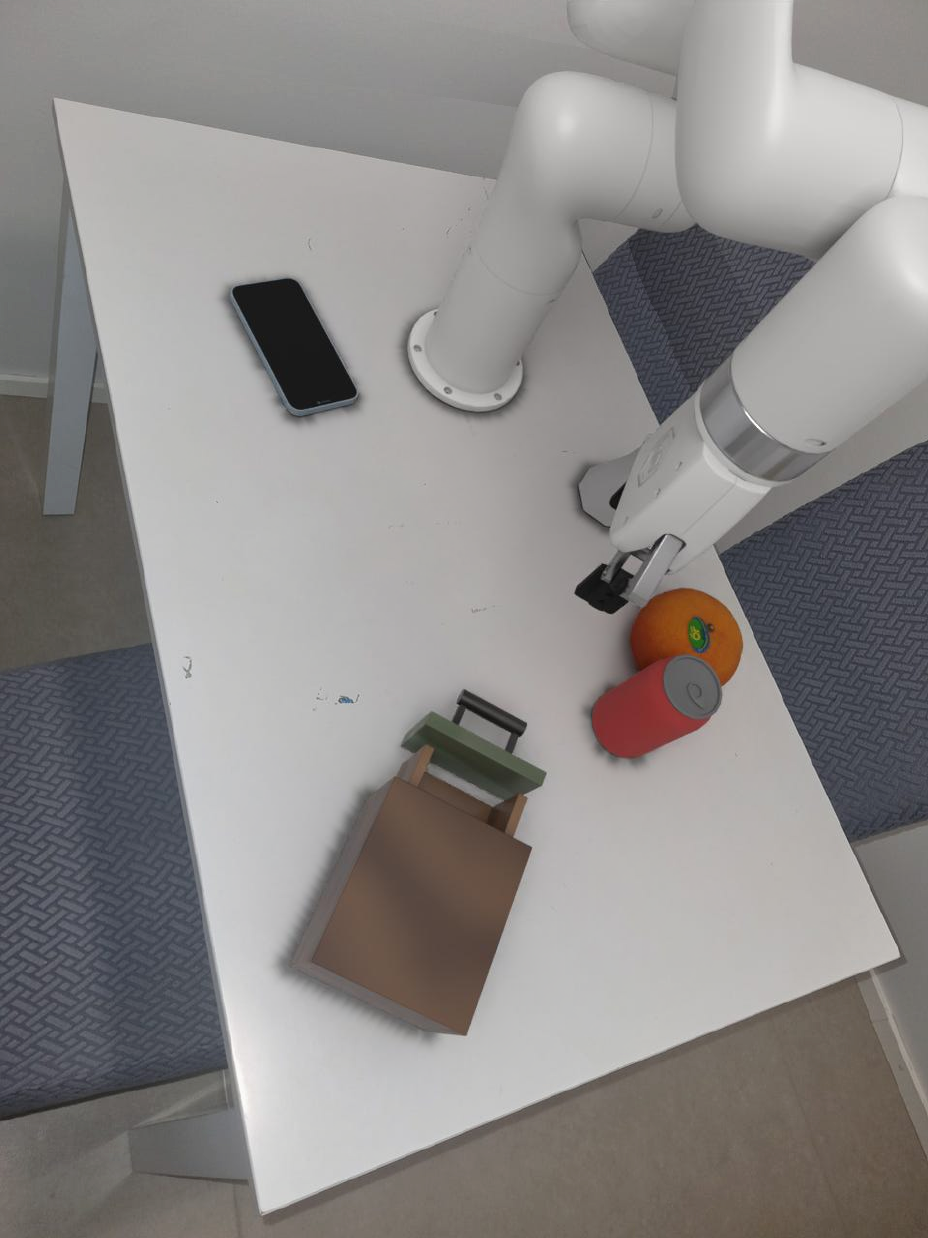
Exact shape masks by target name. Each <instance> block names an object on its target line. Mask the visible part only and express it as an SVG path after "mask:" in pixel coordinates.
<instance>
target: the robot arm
mask: <svg viewBox="0 0 928 1238" xmlns="http://www.w3.org/2000/svg"><path fill="white" fill-rule="evenodd" d="M794 3H795V1H794V0H566V19H567V23H568V27H569V29H570V31H571V33H572V34H573V36H574V37H575V38H576V39H577V40H578V41H579V42H581V43H582V44H583V45H585V46H587V47H588V48H590V49H592V50H594V51H596V52H599V53H601V54H603V55H606V56H609V57H612V58H615V59H617V60H621V61H624V62H627V63H630V64H633V65H637V66H640V67H643V68H646V69H649V70H653V71H657V72H660V73H664V74H667V75H670V76H673V77H675V82H674V87H673V93H672V96H671V97H670V96H668V95H664V94H660V93H658V92H657V93H656V92H653V91H649V90H646V89H644V88H642V87H639V86H636V85H632V84H628V83H626V82H622V81H618V80H614V79H611V78H608V77H604V76H600V75H598V74H592V73H587V72H585V71H583V72H582V71H573V70H563V71H556V72H550V73H548V74H545V75H543V76H541V77H539V78H538V79H537V80H535V81H534V82H533V83H532V84H531V85H530V86H529V87H528V88H527V89H526V91H525V92H524V94H523V95H522V97H521V99H520V102H519V104H518V107H517V108H516V112H515V115H514V119H513V121H512V126H511V129H510V134H509V137H508V141H507V144H506V149H505V152H504V156H503V160H502V163H501V166H500V169H499V172H498V175H497V179H496V181H495V182H494V183H495V184H494V186H493V188H492V192H491V194H490V195H489V198H488V201H487V202H486V205H485V208H484V210H483V212H482V214H481V217H480V218H479V220H478V223H477V225H476V227H475V230H474V232H473V234H472V236H471V239H470V240H469V243H468V245H467V246H466V249H465V251H464V254H463V256H462V257H461V260H460V262H459V264H458V266H457V268H456V270H455V273H454V274H453V277H452V279H451V281H450V283H449V285H448V287H447V290H446V291H445V294H444V296H443V298H442V299H441V302H440V305H439V307H438V308H434V309H432V310H429V311H427V312H426V313H424V314H423V315H421V316H420V317H418V319H417V320H416V321H415V323H414V324H413V326H412V329H411V331H410V333H409V336H408V340H407V347H406V349H407V350H406V351H407V357H408V362H409V364H410V367H411V369H412V371H413V373H414V375H415V376H416V378H417V379H418V381H419V382H420V383H421V384H422V386H423V387H424V388H425V389H426V390H428V392H429V393H430V394H432V395H433V396H434V397H435V398H436V399H438V400H440V401H442V402H443V403H445V404H447V405H450V406H451V407H453V408H457V409H459V410H463V411H468V412H476V413H481V412H490V411H494V410H497V409H499V408H502V407H503V406H505V405H507V404H508V403H509V402H510V401H511V400H513V398H514V396H515V395H516V394H517V392H518V390H519V388H520V387H521V384H522V381H523V375H524V367H523V361H522V357H523V355H524V353H525V352H526V350H527V349H528V347H529V345H530V343H531V342H532V340H533V339H534V337H535V336H536V334H537V332H538V331H539V329H540V328H541V327H542V325H543V323H544V322H545V319H546V318H547V317H548V315H549V314H550V312H551V310H552V309H553V308H554V305H555V304H556V302H557V301H558V299H559V298H560V296H561V294H562V293H563V291H564V290H565V288H566V286H567V285H568V283H569V282H570V280H571V279H572V277H573V275H574V274H575V272H576V270H577V268H578V266H579V263H580V260H581V256H582V252H583V238H582V231H581V227H580V222H579V220H583V219H590V220H597V221H600V222H610V223H615V224H619V225H623V226H627V227H631V228H632V227H633V228H636V229H642V230H646V231H652V232H656V233H663V234H675V233H676V234H677V233H680V232H684V231H687V230H689V229H690V228H692V227H693V226H695V225H696V224H697V225H698V226H699V227H700V228H701V229H703V230H704V231H705V232H708V233H710V234H712V235H714V236H716V237H720V238H724V239H726V240H730V241H734V242H738V243H741V244H746V245H751V246H754V247H755V246H756V247H761V248H765V249H769V250H775V251H778V252H779V251H780V252H784V253H788V254H793V255H797V256H801V257H803V258H805V259H807V260H809V261H811V262H812V263H814V265H813V266H812V267H811V268H810V269H809V270H808V271H807V272H806V273H805V274H804V276H802V277H801V278H800V279H799V281H798V282H797V283H796V284H795V285H794V286H793V287H792V288H791V289H790V290H788V292H787V293H786V294H785V295H784V296H783V298H781V299H780V300H779V302H777V303H776V304H775V306H774V307H772V309H771V310H770V311H769V312H768V313H767V314H766V315H765V316H764V317H763V318H762V319H761V320H760V322H758V323H757V325H756V326H755V327H753V329H752V330H751V331H750V332H749V333H748V334H747V335H746V336H745V337H744V338H743V339H742V340H741V341H740V342H739V344H738V345H737V346H736V347H735V348H734V349H733V350H732V351H731V352H730V353H729V354H728V356H726V358H724V359H723V360H722V362H721V363H720V364H719V365H718V366H717V367H716V368H715V369H714V370H713V371H712V372H711V373H710V374H709V375H708V376H707V377H706V379H704V381H702V382H701V384H700V385H699V387H698V388H697V390H696V391H695V392H694V393H692V395H691V396H689V398H687V399H686V400H685V402H683V403H682V404H681V405H680V406H679V407H678V408H677V409H676V410H674V412H672V413H671V414H670V415H669V416H668V417H667V418H666V419H665V420H664V421H663V422H662V423H661V424H660V425H659V426H658V427H657V428H656V429H655V430H654V431H653V432H651V433H652V434H651V435H650V436H649V437H648V438H647V439H646V441H645V442H644V441H643V442H644V444H643V443H642V444H643V445H642V444H641V445H642V447H641V449H640V451H639V453H638V455H637V457H636V460H635V462H634V465H633V467H632V470H631V472H630V475H629V477H628V480H627V481H626V482H625V483H624V484H623V485H622V486H621V487H620V488H619V489H618V490H617V491H616V492H615V493H614V494H613V495H612V496H611V498H610V501H609V505H610V506H611V507H612V508H613V509H615V510H616V512H615V515H614V518H613V521H612V524H611V526H609V527H610V528H609V532H608V533H609V534H608V536H609V541H610V545H611V546H612V547H613V548H615V549H616V550H617V551H616V553H615V554H614V556H613V557H612V558H611V560H610V561H609V562H608V564H607V563H603V562H601V563H600V564H599V565H598V566H597V567H596V568H595V569H594V570H592V571H591V572H590V573H589V574H588V575H587V576H586V577H584V579H583V580H582V581H581V582H579V583H578V584H577V585H576V587H575V589H574V592H573V593H574V595H575V596H576V597H578V598H579V599H581V600H583V601H585V602H586V603H587V604H588V605H589V606H590V607H591V608H593V609H595V610H597V611H598V612H599V611H600V612H604V613H605V614H608V615H614V614H615V613H617V612H618V611H620V610H621V609H622V608H624V607H625V606H627V604H628V603H631V604H633V605H635V606H637V607H638V608H640V609H641V608H643V607H645V606H646V605H647V603H648V602H649V600H650V599H651V598H653V595H654V593H655V592H656V590H657V589H658V586H659V585H660V583H662V582H661V581H663V578H664V576H669V575H673V574H676V573H677V572H680V571H681V570H682V569H684V568H686V567H687V566H688V565H690V564H691V563H693V562H694V561H695V560H696V559H698V558H699V557H700V556H702V555H703V554H704V553H705V552H706V551H707V550H709V549H710V548H711V547H713V546H714V545H715V544H716V543H717V542H719V541H720V540H721V539H722V538H723V537H724V536H725V535H726V534H727V533H728V532H730V531H731V529H733V528H734V527H735V526H736V525H738V523H739V522H740V521H741V520H742V519H743V518H744V517H745V516H747V515H748V513H750V511H752V509H754V508H755V507H756V506H757V505H758V504H759V503H760V502H761V500H763V498H764V497H765V496H767V495H768V493H770V491H771V490H772V488H773V487H775V488H777V487H782V486H786V485H788V484H790V483H793V482H794V481H795V480H797V479H798V478H799V477H800V476H801V475H803V474H804V473H806V472H807V471H808V470H810V469H811V468H812V467H814V466H815V465H817V464H818V463H819V462H820V461H822V460H823V459H824V458H825V457H827V456H828V455H829V454H831V453H832V452H834V451H835V450H836V449H837V448H838V447H839V446H841V445H843V444H844V443H845V442H846V441H847V440H849V439H850V438H852V437H853V436H854V435H855V434H857V433H859V431H860V430H862V429H863V428H864V427H866V426H867V425H868V424H870V423H871V422H872V421H874V420H875V419H876V418H877V417H879V416H880V415H881V414H883V413H884V412H886V411H887V410H888V409H889V408H890V407H892V406H893V405H895V403H897V402H898V401H899V400H901V399H902V398H903V397H905V396H906V395H907V394H909V393H910V392H911V391H913V390H914V389H915V388H916V387H918V386H920V384H922V383H924V382H925V381H926V380H927V379H928V106H925V105H922V104H920V103H916V102H913V101H910V100H906V99H904V98H901V97H897V96H895V95H891V94H888V93H887V92H883V91H881V90H879V89H876V88H874V87H870V86H868V85H864V84H861V83H858V82H855V81H852V80H849V79H845V78H843V77H840V76H837V75H834V74H831V73H829V72H826V71H822V70H820V69H816V68H814V67H810V66H807V65H802V64H800V63H796V62H794V60H793V46H792V45H793V42H792V41H793V23H794V22H793V20H794V19H793V17H794ZM650 547H651V548H650ZM631 556H632V557H635V558H636V559H638V560H639V561H641V564H640V566H639V568H638V570H637V571H636V573H635V574H633V573H631V572H629V571H627V570H625V569H624V568H623V566H624V565H625V564H626V562H627V561H628V560H629V558H630V557H631Z"/></svg>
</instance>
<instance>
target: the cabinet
mask: <svg viewBox="0 0 928 1238" xmlns="http://www.w3.org/2000/svg"><path fill="white" fill-rule="evenodd" d="M396 776H397V775H396ZM396 776H394V777H393V778H391V779H390V780H389V781H387V782H386V783H385V784H383V785H382V786H381V787H380V788H378V789H377V790H376V791H375V792H373V793H372V794H370V795H369V796H368V797H367V798H366V799H365V800H364V802H363V805H362V807H361V809H360V811H359V813H358V815H357V818H356V820H355V822H354V824H353V826H352V828H351V831H350V833H349V835H348V836H347V839H346V841H345V843H344V846H343V847H342V850H341V851H340V854H339V856H338V858H337V860H336V862H335V864H334V867H333V869H332V871H331V873H330V875H329V877H328V879H327V881H326V884H325V886H324V888H323V890H322V892H321V894H320V897H319V898H318V901H317V903H316V905H315V907H314V909H313V912H312V914H311V916H310V918H309V920H308V923H307V925H306V927H305V929H304V931H303V933H302V935H301V937H300V939H299V942H298V944H297V946H296V948H295V950H294V952H293V954H292V957H291V959H290V961H289V963H288V967H289V968H292V969H293V970H296V971H298V972H300V973H302V974H304V975H306V976H308V977H311V978H312V979H315V980H316V981H319V982H321V983H323V984H325V985H327V986H329V987H332V988H334V989H335V990H338V991H340V992H342V993H344V994H346V995H347V996H350V997H352V998H355V999H357V1000H358V1001H361V1002H363V1003H365V1004H367V1005H369V1006H371V1007H373V1008H376V1009H378V1010H380V1011H382V1012H384V1013H386V1014H388V1015H390V1016H392V1017H394V1018H396V1019H399V1020H400V1021H402V1022H405V1023H407V1024H409V1025H411V1026H413V1027H415V1028H418V1029H419V1030H422V1031H424V1032H426V1033H435V1034H444V1035H453V1036H461V1037H462V1036H463V1037H466V1036H468V1033H469V1030H470V1028H471V1024H472V1021H473V1018H474V1016H475V1013H476V1011H477V1007H478V1005H479V1001H480V999H481V995H482V992H483V990H484V987H485V984H486V981H487V979H488V978H487V977H488V976H489V973H490V971H491V970H490V969H491V967H492V964H493V961H494V959H495V955H496V952H497V950H498V947H499V944H500V942H501V939H502V935H503V933H504V930H505V928H506V924H507V921H508V919H509V916H510V913H511V910H512V907H513V905H514V902H515V898H516V896H517V893H518V890H519V887H520V885H521V882H522V878H523V877H524V876H523V875H524V873H525V870H526V868H527V864H528V861H529V858H530V855H531V853H532V850H533V847H532V845H529V844H527V843H525V842H523V841H521V840H519V839H517V838H516V837H512V836H510V835H508V834H506V833H504V832H502V831H500V830H498V829H496V828H494V827H492V826H490V825H489V824H487V823H485V822H483V821H481V820H479V819H477V818H475V817H473V816H471V815H469V814H467V813H465V812H464V811H462V810H460V809H458V808H456V807H454V806H452V805H450V804H448V803H446V802H444V801H442V800H440V799H439V798H437V797H435V796H433V795H431V794H429V793H427V792H425V791H423V790H421V789H419V788H417V787H415V786H414V785H412V784H410V783H408V782H406V781H404V780H402V779H400V778H398V777H396Z"/></svg>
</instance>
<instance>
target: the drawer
mask: <svg viewBox="0 0 928 1238" xmlns="http://www.w3.org/2000/svg"><path fill="white" fill-rule="evenodd" d="M455 704H456V705H458V706H457V708H456V710H455V712H454V715H453V717H452V718H451V720H450V719H447V718H446V717H443V716H442V715H440V714H438V713H436V712H435V711H433V710H431V711H430V712H428V713H427V714H426V715H425V716H424V717H423V718H422V719H421V720H419V722H418V723H416V725H414V726H413V727H412V728H411V729H410V730H409V731H408V732H406V734H405V735H404V738H403V740H402V741H401V743H400V747H402V748H403V749H405V750H407V751H409V752H411V753H413V754H412V755H411V756H410V757H409V758H407V759H406V760H405V761H404V762H402V763H401V765H400V767H399V769H398V772H397V774H396V777H398V778H400V779H402V780H404V781H406V782H408V783H410V784H412V785H414V786H415V787H417V788H419V789H421V790H423V791H425V792H427V793H429V794H431V795H433V796H435V797H437V798H439V799H440V800H442V801H444V802H446V803H448V804H450V805H452V806H454V807H456V808H458V809H460V810H462V811H464V812H465V813H467V814H469V815H471V816H473V817H475V818H477V819H479V820H481V821H483V822H485V823H487V824H489V825H490V826H492V827H494V828H496V829H498V830H500V831H502V832H504V833H506V834H508V835H510V836H512V837H514V836H515V835H516V831H517V828H518V825H519V823H520V820H521V817H522V815H523V812H524V809H525V806H526V803H527V801H528V797H527V796H526V794H529V793H531V792H533V791H535V790H536V789H539V788H541V787H543V785H544V782H545V779H546V777H547V772H546V771H545V770H543V769H542V768H540V767H538V766H536V765H534V764H532V763H530V762H528V761H527V760H524V759H523V758H521V757H518V756H517V755H515V754H514V751H515V748H516V746H517V742H518V740H519V738H522V736H523V735H524V733H525V732H526V730H527V727H528V722H527V721H525V720H523V719H521V718H520V717H517V716H516V715H514V714H512V713H510V712H509V711H507V710H504V709H503V708H501V707H499V706H498V705H496V704H494V703H491V702H489V701H488V700H486V699H484V698H482V697H480V696H478V695H477V694H475V693H474V692H472V691H469V690H467V689H466V688H463V689H462V690H461V692H460V693H459V695H458V697H457V699H456V703H455ZM466 710H467V711H469V712H470V713H472V714H474V715H476V716H478V717H480V718H481V719H484V720H485V721H487V722H489V723H491V724H492V725H495V726H496V727H498V728H500V729H502V730H504V731H506V732H508V733H509V734H510V735H509V737H508V740H507V742H506V745H505V747H504V748H502V747H500V746H499V745H496V744H495V743H492V742H491V741H489V740H487V739H485V738H483V737H481V736H479V735H477V734H476V733H474V732H472V731H470V730H468V729H466V728H464V727H463V726H460V723H461V721H462V719H463V716H464V714H465V712H466ZM429 763H432V764H434V765H436V766H438V767H440V768H441V769H443V770H445V771H447V772H449V773H451V774H453V775H454V776H457V777H458V778H461V779H462V780H464V781H466V782H468V783H470V784H472V785H473V786H476V787H477V788H480V789H481V790H483V791H485V792H487V793H489V794H490V795H493V796H495V797H496V798H499V799H500V800H502V801H501V802H499V803H497V804H495V805H493V806H492V805H490V804H489V803H486V802H484V801H482V800H481V799H478V798H477V797H475V796H473V795H471V794H469V793H467V792H466V791H463V790H462V789H460V788H457V787H455V786H454V785H452V784H450V783H448V782H446V781H444V780H442V779H441V778H438V777H437V776H435V775H433V774H431V773H429V772H427V769H428V766H429ZM514 838H515V837H514Z"/></svg>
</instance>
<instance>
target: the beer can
mask: <svg viewBox="0 0 928 1238" xmlns="http://www.w3.org/2000/svg"><path fill="white" fill-rule="evenodd" d="M722 687H723V686H722ZM722 687H721V683H720V681H719V678H718V676H717V674H716V673H715V671H714V670H713V668H712V667H711V666H710V665H709V664H708V663H706V662H705V661H704V660H703V659H701V658H699V657H697V656H694V655H688V654H683V655H679V656H672V657H668V658H663V659H659V660H658V661H656V662H655V663H653V664H651V665H650V666H648V667H646V668H645V669H643V670H642V671H638V672H637V673H635V674H633V675H632V676H630V677H628V678H627V679H625V680H624V681H622V682H620V683H619V684H617V685H616V686H614V687H613V688H611V689H609V690H607V691H606V692H605V693H603V694H602V695H601V696H599V698H598V699H597V701H596V702H595V704H594V706H593V710H592V714H591V717H592V718H591V721H592V728H593V731H594V734H595V737H596V739H597V740H598V741H599V742H600V744H601V745H602V747H603V748H604V749H606V750H607V751H608V752H609V753H610V754H612V755H614V756H617V757H619V758H623V759H635V758H638V757H642V756H644V755H646V754H649V753H650V752H652V751H654V750H657V749H659V748H661V747H664V746H666V745H668V744H670V743H672V742H674V741H676V740H679V739H681V738H683V737H685V736H687V735H689V734H692V733H694V732H697V731H698V730H700V729H701V728H702V727H703V726H704V725H706V724H707V723H708V722H709V721H710V720H711V718H712V716H714V715H715V714H716V713H717V712H718V711H719V709H720V707H721V705H722V701H723V688H722Z"/></svg>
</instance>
